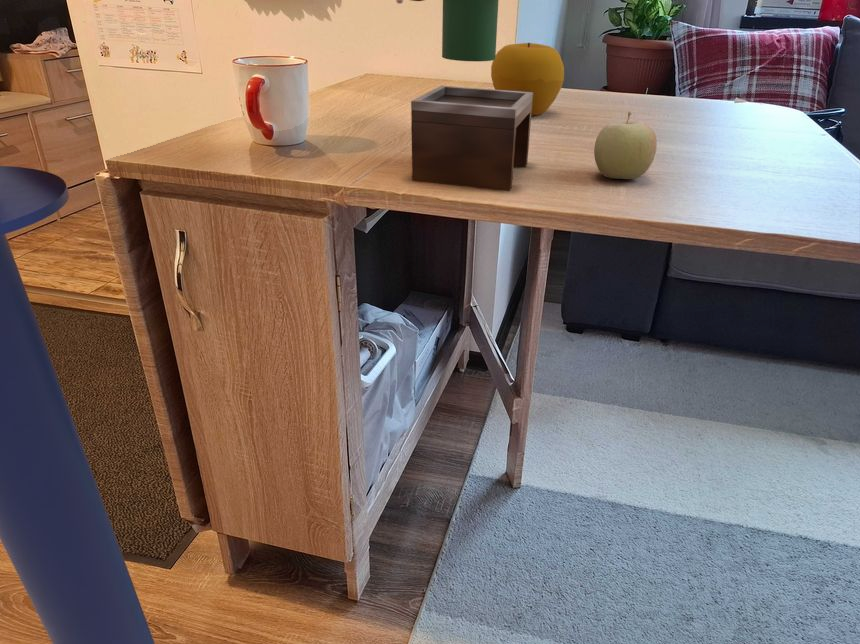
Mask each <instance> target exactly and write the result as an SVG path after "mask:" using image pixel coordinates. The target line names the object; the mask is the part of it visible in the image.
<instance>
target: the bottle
mask: <svg viewBox="0 0 860 644" xmlns="http://www.w3.org/2000/svg"><path fill="white" fill-rule="evenodd" d="M498 15H499V0H442V23H441V24H442V28H441V29H442V30H441V31H442V33H441V34H442V35H441V57H442V59H445V60H449V61H457V62H490V61H491V62H493V60H495V56H496V54H497V35H498V34H497V33H498V17H499V16H498Z"/></svg>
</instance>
